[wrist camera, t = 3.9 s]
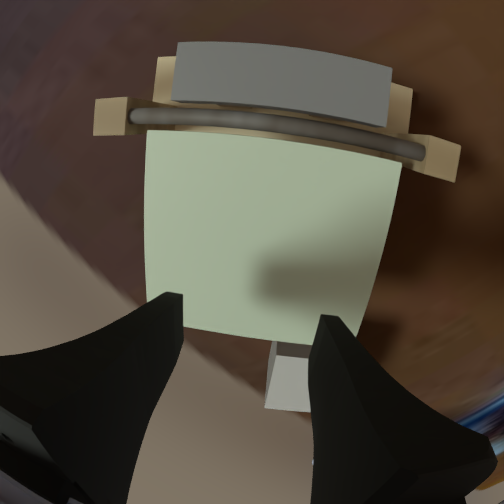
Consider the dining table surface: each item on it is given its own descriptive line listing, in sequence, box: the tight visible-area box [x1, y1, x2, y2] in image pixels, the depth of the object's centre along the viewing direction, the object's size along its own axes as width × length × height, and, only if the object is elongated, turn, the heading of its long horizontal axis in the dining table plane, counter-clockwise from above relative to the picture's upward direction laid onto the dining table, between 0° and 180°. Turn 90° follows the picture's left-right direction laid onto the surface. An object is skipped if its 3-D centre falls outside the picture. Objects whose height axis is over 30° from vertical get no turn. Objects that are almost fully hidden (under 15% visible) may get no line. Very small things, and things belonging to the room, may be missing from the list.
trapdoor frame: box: [93, 56, 461, 183], centre depth 13 cm, size 5×15×7 cm, turn 84°
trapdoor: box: [144, 42, 402, 345], centre depth 12 cm, size 12×10×1 cm
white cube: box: [265, 340, 312, 412], centre depth 20 cm, size 5×5×5 cm
